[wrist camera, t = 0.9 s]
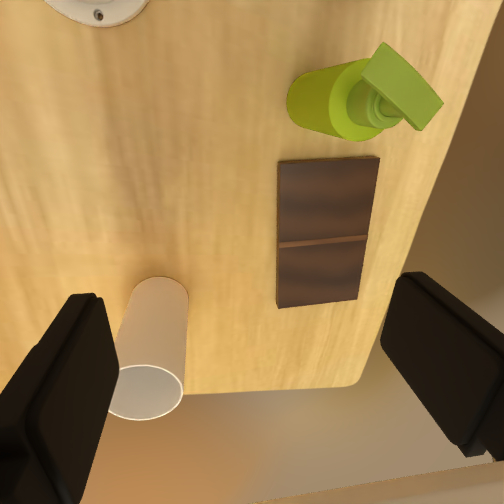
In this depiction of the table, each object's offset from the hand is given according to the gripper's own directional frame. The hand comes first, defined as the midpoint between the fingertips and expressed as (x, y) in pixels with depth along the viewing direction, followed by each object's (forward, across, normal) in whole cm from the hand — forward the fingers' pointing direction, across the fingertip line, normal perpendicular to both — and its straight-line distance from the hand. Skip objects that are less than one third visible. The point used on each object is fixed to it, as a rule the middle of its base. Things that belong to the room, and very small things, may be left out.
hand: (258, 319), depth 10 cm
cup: (+31, +9, +20) cm, 38 cm away
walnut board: (+31, -15, +11) cm, 36 cm away
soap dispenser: (+31, -11, -7) cm, 33 cm away
